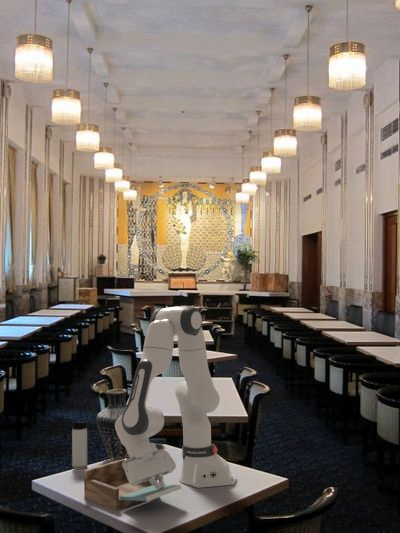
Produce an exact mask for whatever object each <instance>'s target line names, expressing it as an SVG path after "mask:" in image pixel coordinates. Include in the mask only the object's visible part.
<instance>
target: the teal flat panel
mask: <svg viewBox="0 0 400 533" xmlns="http://www.w3.org/2000/svg"><path fill="white" fill-rule="evenodd" d="M181 487H182V486H181V484H165V487H164V488H162V489H159V490H157V489H156V487H155V486H153V485H152V486H149V487H146V488H143V489H140V490H137V491H134V492H131V493H129V494H126V495H123V496H120V499H121V500H134V501H138V502H141V501H142V502H149V501H153V500H154V499H155V500H156V499H158V498H160V497H163V496H166V495H168V494H171V493H173V492H176V491H179V490H182V489H181Z"/></svg>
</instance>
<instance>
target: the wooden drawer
mask: <svg viewBox="0 0 400 533" xmlns="http://www.w3.org/2000/svg"><path fill="white" fill-rule="evenodd" d="M125 459H128V457H124V458H121V459H119V460H116V461H112V462H108V463H105V464H102V465H98V466H95V467H91V468H87V469H84V471H83V472H84V477H83V478H84V480H83V483H84V487H83V488H84V491H83V493H84V494H83V495H84V499H85V498H86V499H87V500H90V501H92V502H95V503H98V504H100V505H102V506H105V507H108V508H110V509H113V510H114V511H115V510H116V511H117V510H119V509H121V508H124V507H127V506H130V505H132V504H136V503H138V502H139V501H134V500H121V499H120V496H123V495H126V494H129V493H131V492H134V491H137V490H140V489H143V488H146V487H149V486H152V484H151V483H150V482H149V480H148V481H145V482H142V483H139V484H137V485H131V484H130V483H129V481H128V479H127V476H126V473H125V470H124V468H123V466H122V463H123V461H124V460H125ZM155 480H156V481H157V482H158V480H157V478H155Z"/></svg>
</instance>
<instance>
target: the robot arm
mask: <svg viewBox="0 0 400 533" xmlns="http://www.w3.org/2000/svg"><path fill="white" fill-rule="evenodd" d="M202 326H203V315H202V313H201V312H200V310H199V309H198V308H197V307H193V306H183V305H182V306H181V305H180V306H178V305H177V306H169V307H160V308H157V309H155V310H154V311H153V312H152V314H151V315H150V319H149V326H148V327H147V330H146V334H145V337H144V344H143V349H142V355H141V358H140V361H139V363H138V365H137V367H136V370H135V372H134V377H133V380H132V385H131V388H130V392H129V398H128V401H127V402H126V404H127V406H126V408H125V410H124V412H123V414H122V415H121V416H120V417H119V418H118V419H117V420H116V422H115V429H116V432H117V435H118V437H119V439H120V441H121V443H122V444H123V445H124V446H125V448H126V450H127V453H128V455H129V457H128V458H127V459H125V458H124V459H125V460H124V461H123V463H122V466H123V468H124V470H125V473H126V476H127V479H128V481H129V483H130V484H131V485H137V484H139V483H142V482H145V481H148V480H149V482H150V483H151V484H152V485H153V486H155V487H156V489H157V490H159V489H162V488H164V487H165V485H166V484H165V482H164V476H166V475H169V474H171V473H173V472H174V470H176V469H177V465H176V464H177V463H176V462H175V460H174V459H173V457H172V456H171V454H170V453H169V452H168V451H167V450H166V446H165V445H164V444H163V443H154V442H150V440H149V438H152V437H154V436H155V435H157V434H158V433H160V432H161V431H162V430H163V428H164V426H165V416H164V413H163V412H162V411H161V410H160V409H159V408H155V407H151V406H150V407H149V406H147V400H148V395H149V391H150V386H151V384H152V381H153V380H154V379H155V378H156V377H157V376H158V375H161V374H163V373H165V372H166V371H168V369H169V368H170V367H171V363H172V359H173V352H174V338H175V336H177V348H178V349H177V350H178V359H179V368H180V369H179V370H180V372H181V373H182V374H183V375H182V376H183V377H184V380H182V381H181V382H178V384H177V385H176V387H175V392H174V394H175V397H176V400H177V403H178V405H179V410H180V414H181V415H180V416H181V420H182V429H183V433H182V435H183V436H182V438H183V440H182V442H183V444H182V448H181V457H182V467H181V473H180V477H179V482H180V483H182V484H184V485H188V486H190V487H191V486H192V487H194V488H198V489H199V488H210V487H211V488H212V487H222V486H231V485H235V483H237V477H236V474H235V473H234V472H232V471H231V468H230V464H229V463H228V461H227V460H225V459H224V458H223V457H221V456H220V455H219V454H218V451H219V449H218V448H217V446H216V445H215V444H214V443H212V434H211V433H212V432H211V431H212V424H211V422H210V421H209V418H208V415H207V414H208V413H213V412H215V410H217V408H218V407H219V405H220V398H221V397H220V394H219V392H218V391H217V390H216V387H215V385H214V382H213V379H212V376H211V373H210V369H209V364H208V355H207V348H206V340H205V336H204V330H203V327H202ZM155 478H157V481H156V480H155Z"/></svg>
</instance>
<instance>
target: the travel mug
mask: <svg viewBox="0 0 400 533" xmlns="http://www.w3.org/2000/svg"><path fill="white" fill-rule="evenodd" d="M71 422H72V425H71V426H72V430H71V434H72V436H71V438H72V439H71V441H72V442H71V447H72V448H71V449H72V451H71V453H72V454H71V461H72V462H71V465H72V469H74V470H82V469H85V468H87V467H88V422H87V421H81V420H73V421H71Z"/></svg>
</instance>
